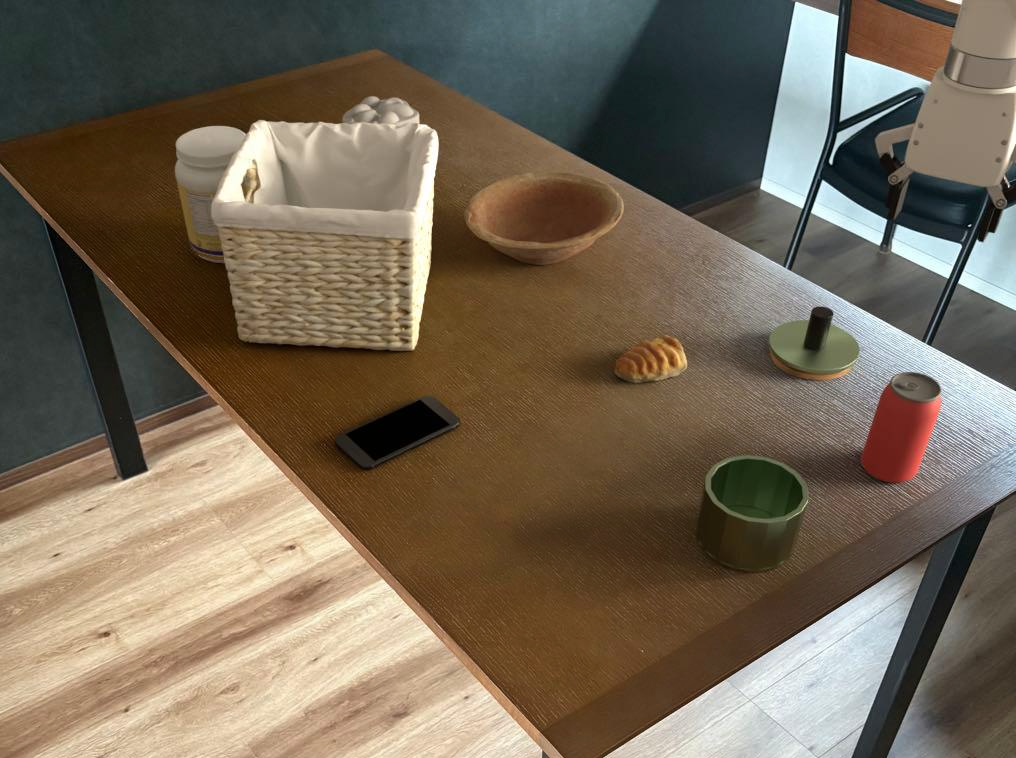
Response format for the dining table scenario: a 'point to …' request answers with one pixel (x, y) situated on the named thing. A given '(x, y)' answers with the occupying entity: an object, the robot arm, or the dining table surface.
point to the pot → (751, 513)
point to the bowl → (543, 215)
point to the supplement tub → (204, 181)
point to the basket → (329, 232)
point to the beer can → (902, 427)
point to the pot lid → (814, 344)
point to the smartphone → (396, 432)
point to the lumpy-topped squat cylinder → (382, 112)
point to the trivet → (807, 374)
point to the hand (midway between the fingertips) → (937, 225)
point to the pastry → (652, 360)
